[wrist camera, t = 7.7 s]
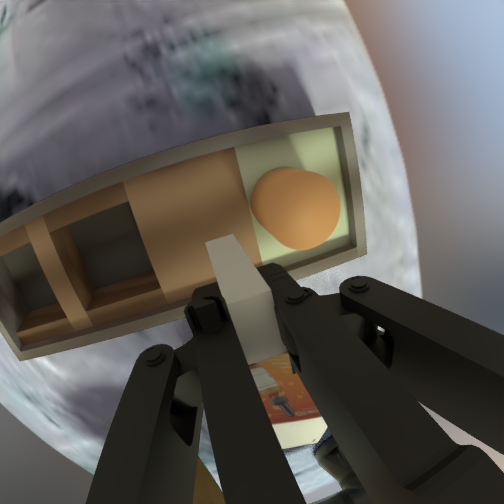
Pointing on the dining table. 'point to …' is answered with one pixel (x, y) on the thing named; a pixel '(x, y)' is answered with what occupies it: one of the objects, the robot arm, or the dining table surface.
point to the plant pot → (206, 487)
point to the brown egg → (296, 206)
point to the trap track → (163, 234)
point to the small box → (287, 402)
